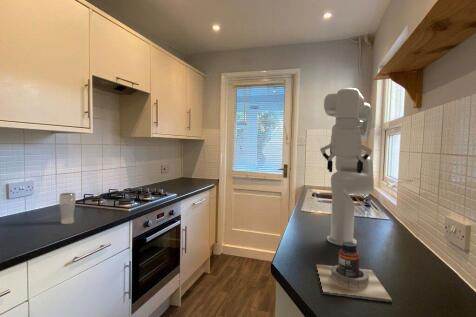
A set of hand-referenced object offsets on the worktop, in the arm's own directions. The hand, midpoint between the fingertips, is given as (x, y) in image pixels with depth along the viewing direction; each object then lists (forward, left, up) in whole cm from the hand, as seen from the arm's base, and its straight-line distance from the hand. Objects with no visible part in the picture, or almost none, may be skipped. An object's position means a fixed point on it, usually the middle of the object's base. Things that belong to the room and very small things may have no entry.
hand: (344, 172), depth 96 cm
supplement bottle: (+14, 0, -32) cm, 35 cm away
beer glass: (-18, -131, -34) cm, 136 cm away
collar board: (+14, 0, -33) cm, 36 cm away
